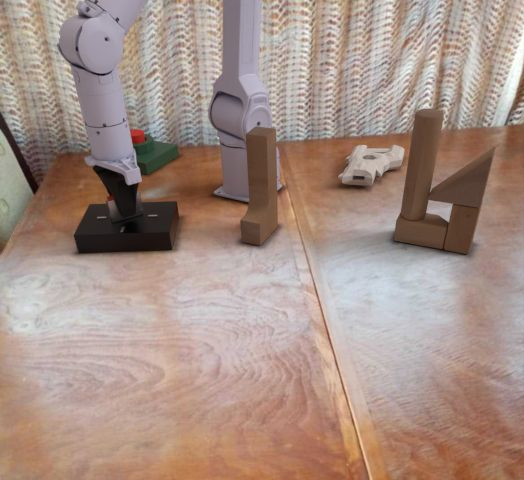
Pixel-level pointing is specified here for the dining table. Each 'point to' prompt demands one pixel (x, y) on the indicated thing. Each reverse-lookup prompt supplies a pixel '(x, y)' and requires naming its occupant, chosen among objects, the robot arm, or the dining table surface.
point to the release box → (154, 154)
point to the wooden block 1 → (261, 186)
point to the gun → (370, 164)
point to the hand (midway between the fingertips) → (126, 213)
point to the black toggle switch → (128, 229)
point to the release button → (137, 136)
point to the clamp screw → (114, 212)
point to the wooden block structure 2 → (440, 192)
